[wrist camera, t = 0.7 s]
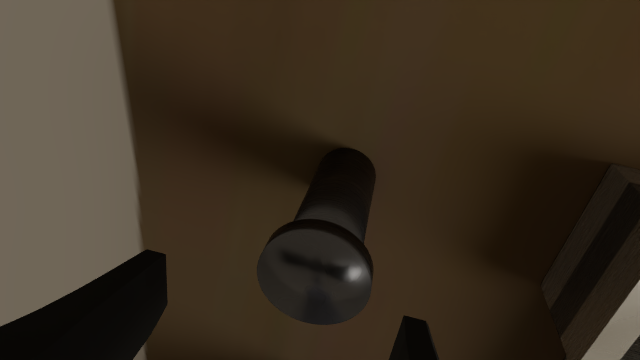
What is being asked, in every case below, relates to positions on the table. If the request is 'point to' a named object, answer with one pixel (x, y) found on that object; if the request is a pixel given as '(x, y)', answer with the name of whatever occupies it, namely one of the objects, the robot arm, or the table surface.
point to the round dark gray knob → (324, 245)
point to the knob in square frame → (600, 274)
